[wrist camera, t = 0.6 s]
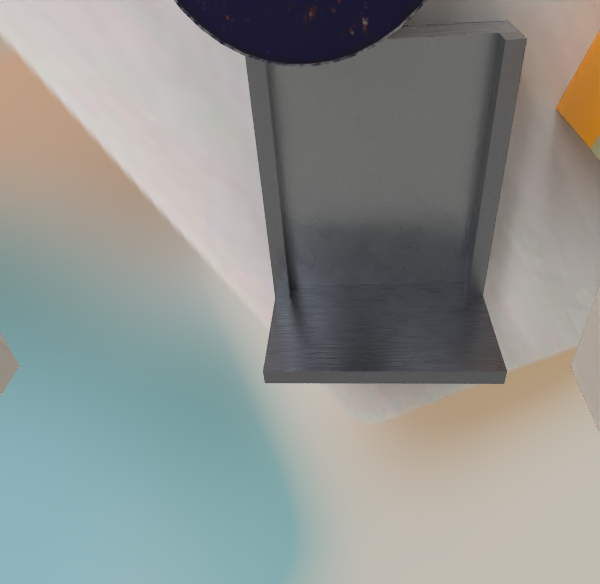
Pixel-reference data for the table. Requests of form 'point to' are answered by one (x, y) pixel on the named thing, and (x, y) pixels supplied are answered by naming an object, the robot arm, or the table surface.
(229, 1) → the dark navy cylinder
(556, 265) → the table surface
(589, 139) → the orange juice
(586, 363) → the robot arm
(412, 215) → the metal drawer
